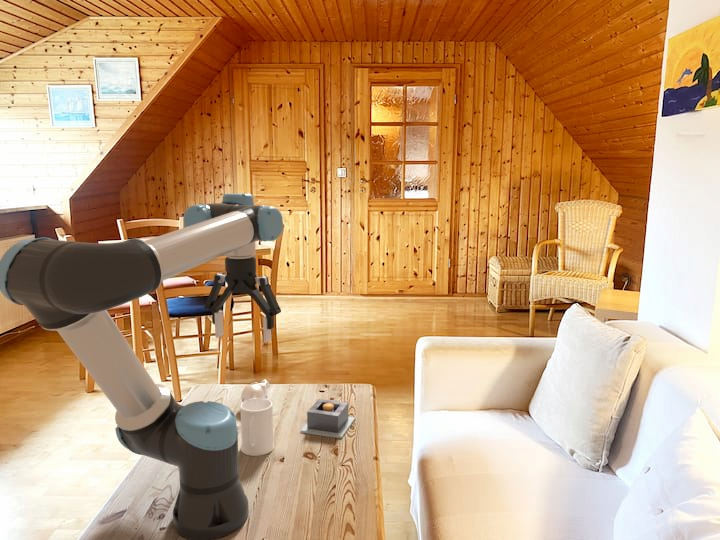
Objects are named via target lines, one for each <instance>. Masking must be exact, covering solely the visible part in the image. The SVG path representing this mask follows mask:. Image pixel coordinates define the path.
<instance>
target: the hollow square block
mask: <svg viewBox="0 0 720 540" xmlns="http://www.w3.org/2000/svg"><path fill="white" fill-rule="evenodd" d="M326 403H331V404H333V405H334V412H327V411H323V405H324V404H326ZM306 414H307V415H306V416H307V417H306V424H307V429H313V430H320V431H326V432H333V433H339V431H340V430H341V429H342V427H343V426H344V424H345V423H346V422H347V420H348V417H349V402H345V401H337V400H331V399H330V400H329V399H324V398H318V400H316V401H315V402H314V403H313V405H312V406H311V407H310V408H309V409H308V410H307V411H306Z"/></svg>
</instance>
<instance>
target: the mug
mask: <svg viewBox="0 0 720 540" xmlns="http://www.w3.org/2000/svg"><path fill="white" fill-rule="evenodd" d="M239 407H240V408H239V409H240V433H241V435H240V436H241V445H240V446H241V447H240V450H241V451H240V452H242V453H243V454H244V455H246V456H250V457H251V456H252V457H258V456H265V455H267V454H270V453H271V452H272V451H273V450H274V449H275V443H274V441H275V440H274V423H273V422H274V418H273V416H274V415H273V411H274V410H273V401H271V400H270V399H263V398H255V399H249V400H246V401H244V402H241V404H240V406H239Z"/></svg>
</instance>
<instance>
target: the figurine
mask: <svg viewBox="0 0 720 540" xmlns="http://www.w3.org/2000/svg"><path fill="white" fill-rule="evenodd" d="M270 386H271V385H270V382H269V381H268V380H267V379H262V380H261V382H257V381H255V382H252V383H249V384H248V385H246V386H245V387H244V388H243V390H242V392H241V401H242V402H241V403H243V402H244V401H246V400H249V399H255V398H263V399H268V398H267V392H268V389H270ZM268 400H269V399H268Z"/></svg>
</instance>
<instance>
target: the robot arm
mask: <svg viewBox="0 0 720 540" xmlns="http://www.w3.org/2000/svg"><path fill="white" fill-rule="evenodd" d="M221 200H222V201H221V202H219V203H218V202H217V203H212V202H211V203H199V204H194V205H190V206H189V207H188V208H187V209H185V212H184V214H183V226H184V227H183V228H179V229H176V230H174V231H170V232H166V233H164V234H162V235H158V236H155V237H152V238H149V239H146V240H143V239H140V238H130V239H127V240H123V241H119V242H109V243H108V242H107V243H105V242H103V243H102V242H100V243H99V242H97V243H96V242H83V241H82V242H81V241H71V240H57V239H54V238H53V239H52V238H51V237H43V236H42V237H38V238H27V239H23V240H20V241H18V242H16V243H14V244H13V245H11V246H10V247H9V248H8V249H7V250H6V251H5V252H4V254H3V255H2V257H1V258H0V292H1V293H2V295H3V296H4V297H5V299H7V300H9V301H11V302H12V303H13V304H16V305H19V306H24V307H25V308H26V309H27V310H28V312H29V313H30V314H31V316H32V317H33V318H34V319H35V321H36V322H37V323H38V324H39V326H40V327H41V328H42V329H44V330H46V331H53V332H54V331H55V332H56V331H57V333H58V334H59V335H60V337H61V339H63V341H64V342H65V344H66V345H67V346H68V347H69V349H70V350H71V352H72V353H73V355H74V356H75V357H76V359H78V361H79V362H80V364H81V365H82V366H83V367H84V368H85V369H86V372H87V373H88V374H89V375H90V377H91V378H92V380H93V381H94V382H95V384H97V386H98V387H99V388H100V391H102V393H103V394H104V395H105V396H106V398H107V399H108V400H109V402H110V403H111V404H112V406H113V407H114V409H115V410H116V412H115V417H114V421H115V424H116V427H115V435H116V437H117V440H118V442H119V443H120V444H121V446H123V447H124V448H125V449H127V450H128V451H129V452H132V453H134V454H137V455H141V456H145V457H148V458H152V459H153V460H157V461H160V462H162V463H166V464H169V465H172V466H175V467H177V468H178V476H179V477H178V478H179V489H178V492H177V496H176V499H175V503H174V506H173V511H172V525H173V529H174V531H175V532H176V533H177V534H178V535H179V536H181V537H183V538H186V539H188V540H216V539H219V538H223V537H225V536H228V535H230V534H232V533H234V532H235V531H237V530H238V529H240V528H241V527H242V526H243V524H245V522H246V521H247V519H248V516H249V513H250V511H249V500H248V497H247V495H246V493H245V490H244V488H243V485H242V483H241V480H240V476H239V444H238V443H239V439H238V438H239V437H238V436H239V431H238V426H237V418H236V415H235V413H234V411H233V410H232V409H231V408H230V407H228V406H227V405H225V404H223V403H220V402H216V401H210V400H209V401H206V402H204V400H202V401H199V400H198V401H194V402H190V403H188V404H186V405H181V404H179V402H177V400H176V399H175V397H174V396H173V395H172V393H171V391H170V390H169V389H168V387H166V386H165V385H163V384H158V383H155V382H154V379H153V378H152V376H150V374H149V372H148V371H147V369H146V368H145V366H144V364H143V363H142V362H141V360H140V359H139V357H138V356H137V354H136V352H135V351H134V350H133V348H132V346H131V345H130V343H129V342H128V340H127V339H126V337H125V336H124V335H123V332H122V331H121V330H120V329H119V327H118V325H117V324H116V322H115V320H113V318H112V316H111V315H110V313H109V312H108V310H110V309H113V308H117V307H119V306H122V305H125V304H127V303H129V302H132V301H135V300H137V299H139V298H142V297H144V296H146V295H149V294H151V293H153V292H155V291H156V290H158V289H159V288H160V287H161V284H162V282H164V281H166V280H168V279H170V278H172V277H175V276H177V275H180V274H182V273H184V272H187V271H189V270H192V269H194V268H196V267H198V266H201V265H203V264H205V263H208V262H210V261H212V260H215V259H218V258H219V257H222V256H225V258H224V268H225V269H224V271H225V274H224V273H223V272H221V273H217V274H215V275H214V280H213V285H212V288H211V290H210V291H209V292H210V293H209V294H208V297H207V299H206V302H205V304H204V306H203V307H204V310H208V311H210V312H211V323H212V324H213V325H214V331H215V334H214V335H215V338H216V339H218V338H221V337H223V336H224V335H225V334H224V332H225V331H224V311H223V310H221V308H222V307H223V306H224V304H225V303H226V301H227V300H228V299H229V298H230V297H231V296H232V294H240V295H241V294H242V295H248V296H249V297H251V298H252V299H253V301H254V302H255V304H256V305H257V306H258V307H259V309H260V310H261V311H262V312H263V314H264V316H263V317H262V320H263V321H262V323H263V324H262V325H263V326H262V327H263V328H262V329H263V343H264V344H267V343H268V342H270V341H271V340H272V330H273V329H274V327H275V316H277V315H279V314H280V313H281V312H282V309H281V306H280V305H279V303H278V301H277V297H276V296H275V294H274V292H273V291H272V288H271V285H270V283H269V282H270V281H269V276H267V275H264V276H260V277H259V276H257V273H256V272H257V258H256V256H255V255H256V253H257V252H256V250H257V249H256V242H257V241H263V242H273V241H276V240H277V239H279V237H280V236H281V234H282V233H283V228H284V220H283V215H282V212H281V211H280V210H279V209H278V208H276V206H270V205H265V204H262V205H259V204H257V205H255V201H254V196H253V195H252V194H251V193H248V192H247V193H246V192H243V193H240V192H238V193H237V192H235V193H233V192H232V193H225V194H222V199H221ZM224 283H226V284H227V286H226V288H225V289H224V291H223V292H222V294H221V295H220V296H219V293H220V292H221V289H222V286H223V284H224ZM256 284H257V285H258V286H259V288H260V290H261V291H262V292H260V290H259V288H258V287H257V286H256ZM261 293H262V294H263V295H262V294H261ZM218 296H219V297H218ZM85 369H84V370H85Z"/></svg>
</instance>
